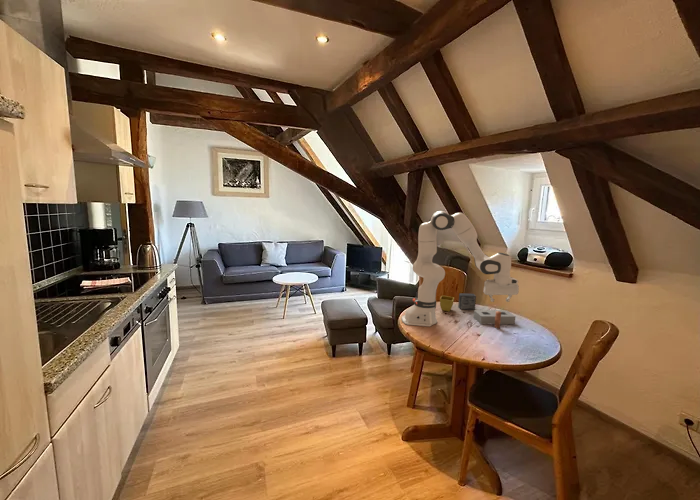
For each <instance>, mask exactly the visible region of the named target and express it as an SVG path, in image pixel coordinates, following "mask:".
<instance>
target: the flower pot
mask: <svg viewBox="0 0 700 500" xmlns="http://www.w3.org/2000/svg"><path fill="white" fill-rule="evenodd" d="M454 303H455V297H453V296H447V295H441V296H440V298H439V307H440V309H441V311H444V312H451V310H452V308H453V306H454Z"/></svg>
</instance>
